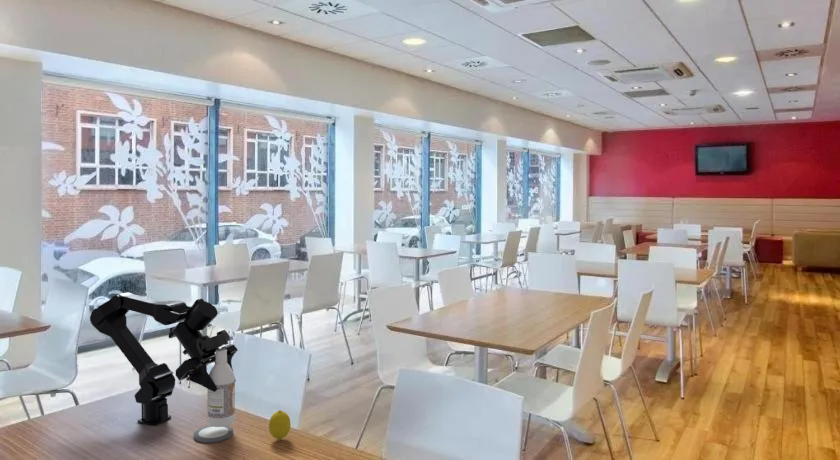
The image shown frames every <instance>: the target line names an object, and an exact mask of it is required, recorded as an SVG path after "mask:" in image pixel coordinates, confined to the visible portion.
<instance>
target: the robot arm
mask: <svg viewBox="0 0 840 460" xmlns="http://www.w3.org/2000/svg"><path fill="white" fill-rule="evenodd" d="M130 311H131V312H135V313H139V314H142V315H146V316H149V317H150V316H151V317H152V318H153V319H154V321H155V322H157V323H159V324H161V325H163V326H169V325H173V324H176V323H177V324H176V326H173V327H170V328H169V332H168V339H172V338H177V340H178V342H179V343H180V345H181V346H182V347H183V349H184V350H183V351H182V353H183V355H184V356H185V355H188V356H189V357H190V358H188V359H185V360H184V361H183V362H182V363H181V364H180V365H179V366H178V367H177V368H176V369H175V371H172V370H171V369H170V368H169V366H168V365H167V363H165V362H162V363H160V364H158V363H156V362H155V361H154V359H152V357H151V356H150V355H149V354H148V352H147V350H145V348H144V347H143V346H142V344H141V343H140V342H139V340H138V339H137V338H136V337H135V335H134V334H133V333H132V332H131V330H130V329H129V328H128V326H127V316H126V315H127V314H128V313H129V312H130ZM217 316H218V309H217V307H216V306H215V305H213V304H212V303H210V302H208V301H205V300H204V299H203V297H202V298H198V299H196V300H195V301H194V303H193V304H192V305H187V303H186V302H185V301H182V300H165V301H163V300H158V299H154V298H149V297H145V296H142V295H137V294H134V293H132V292H129V291H128V292H119V293H116V294H115V295H113V296H112V297H110V299H109V300H107V301H105V302H103V303H102V304H100V305H99V306H98V307H96V308H94V309H93V310H92V311H91V313H90V316H89V321H90V324H91V325H92V327H93V328H95V329H96V330H97V331H98V332H99V333H100V334H103V335H106V336H107V337H110V338H111V340H112V341H113V342H114V344H115V345H116V347H118V349H119V350H120V351H121V352H122V354H123V355H124V357H125V358H126V359H127V360H128V362H129V363H130V365H131V366H132V367H133V368H134V370H135V371H136V373H137V374H138V385H139V387H140V389H139V390H138V391H136V392H135V394H134V400H135V402H136V403H138V404H141V418H140V419H137V420H136V421H137V423H140V424H144V425H150V426H157V425H159V424H162V423H164V422H166V421H167V420H170V419H171V418H172V415H169V405H168V399H167V397H171V396H172V394H173V391H174V389H175V387H176V379H178V382H180V381H183V380H185V379H186V381H187V382H188V381H191V382H193V383H195V384H198V385H200V386H202V387H204V388H205V389H207V390H208V389H209V390H211V391H213V392H215V391H217V387H216V385H215V384H214V382H213V380H212V379H211V377H210V376H209V373H208V368H207V365H210V364H212V363H214V364H215V363H216V349H220V347H221V348H224V349H227V363H228V365H229V366H230V367H231V369H232V371H233V372H234V370H233V366H232V359H233V357H234V355H235V354H236V353H237V352H238V351H239V350H238V348H237V347H236V346H235V344H233V343H230V344H229V341H230V339H231V337H230V335H229V333H228V331H227V330H226V329H223V330H220V331H217V332H216V335H214V336H211V337H210V336H209V335H207V334H206V335H203V333H202V332H201V331H203V330H205V329H206V328H207V327H209V325H210V323H212V322H213V321H214V319H215V318H216V317H217ZM174 374H175V376H174ZM175 377H176V378H175ZM234 377H235V375H234ZM235 378H236V377H235ZM236 381H237V380H236V379H235V382H236Z"/></svg>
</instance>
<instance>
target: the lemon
mask: <svg viewBox="0 0 840 460" xmlns="http://www.w3.org/2000/svg"><path fill="white" fill-rule="evenodd" d="M268 429H269V434H270V435H271V436H272V437H273V438H275V439H277V440H278V441H281V440H283V438H285V437H287V436H288V434H289V433H290V430H291V419H290V416H289V415H288V413H286V412H285V411H282V410H281V409H279V410H278V411H276V412H274V413H273V414H272V415H270V419H269V423H268Z"/></svg>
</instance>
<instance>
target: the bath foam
mask: <svg viewBox="0 0 840 460" xmlns="http://www.w3.org/2000/svg"><path fill="white" fill-rule="evenodd" d="M215 354H216V363H215V362H214V365H213V366H212V368H211V369H210V371H209V373H208V374H209V376H210V377H211V379H212V380H213V382H214V384H215V385H216V387H217V391H215V392H213V391H211V390H209V389H207V424H208V426H213V427H224V426H231V425H232V424H233V423H235V418H236V417H235V415H236V412H235V410H236V403H235V402H236V381H235V380H236V377H234V376H235V374H234V370H233V371H232V369H233V368H232V369H231V367H230V366H229V365H228V363H227V349H224V348H222V347H221V348H220V347H219V349H216V352H215Z"/></svg>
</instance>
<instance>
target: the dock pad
mask: <svg viewBox="0 0 840 460" xmlns="http://www.w3.org/2000/svg"><path fill="white" fill-rule="evenodd" d="M233 435H234V428H233V427H231V425H228V426H224V427H213V426H210V425H207V426H203V427H200V428H198V429H197V430H195V431H194V432H193V439H194V441H196V442H198V443H203V444H212V443H213V444H214V443H215V444H216V443H219V442H222V441H226V440H228V439H230V438H232V437H233Z"/></svg>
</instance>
